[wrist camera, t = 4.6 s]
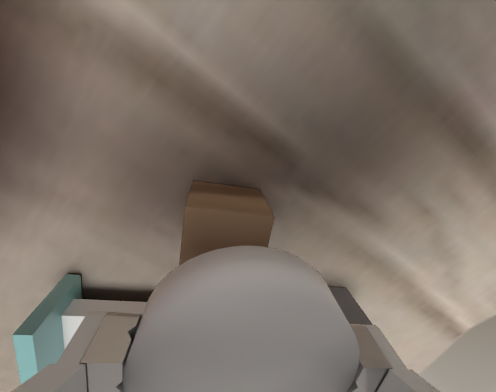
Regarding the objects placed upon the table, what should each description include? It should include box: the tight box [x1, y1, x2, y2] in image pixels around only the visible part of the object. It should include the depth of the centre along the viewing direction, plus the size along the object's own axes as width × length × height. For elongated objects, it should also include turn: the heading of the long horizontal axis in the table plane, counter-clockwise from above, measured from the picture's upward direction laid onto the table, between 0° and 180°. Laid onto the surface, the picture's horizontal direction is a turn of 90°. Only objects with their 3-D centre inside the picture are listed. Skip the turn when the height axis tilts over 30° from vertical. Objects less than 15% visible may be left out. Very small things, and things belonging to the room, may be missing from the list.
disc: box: [123, 246, 360, 392], centre depth 8 cm, size 7×7×2 cm
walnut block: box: [179, 181, 274, 265], centre depth 17 cm, size 5×5×5 cm
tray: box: [12, 274, 147, 384], centre depth 20 cm, size 16×13×5 cm
